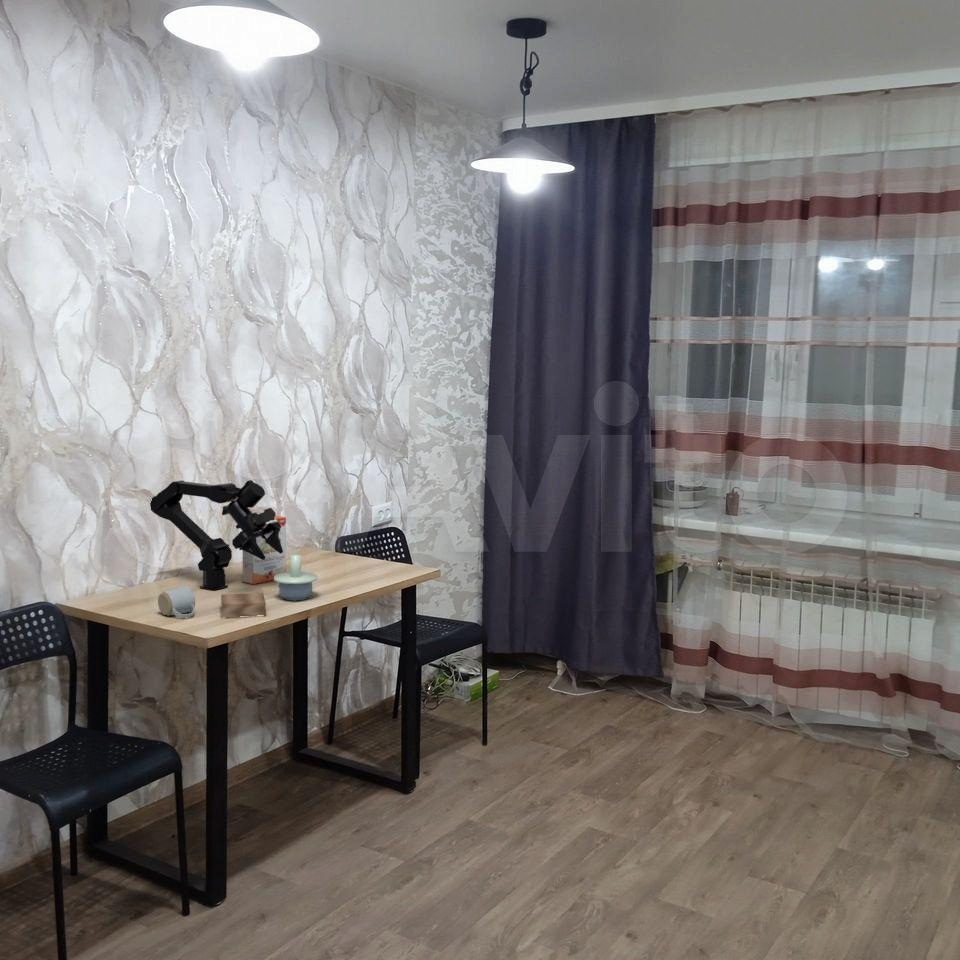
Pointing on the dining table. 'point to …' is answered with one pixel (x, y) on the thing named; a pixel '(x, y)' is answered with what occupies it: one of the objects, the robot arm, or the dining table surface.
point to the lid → (295, 573)
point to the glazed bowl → (295, 591)
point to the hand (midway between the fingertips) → (273, 555)
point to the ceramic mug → (177, 602)
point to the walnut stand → (243, 605)
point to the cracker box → (272, 564)
